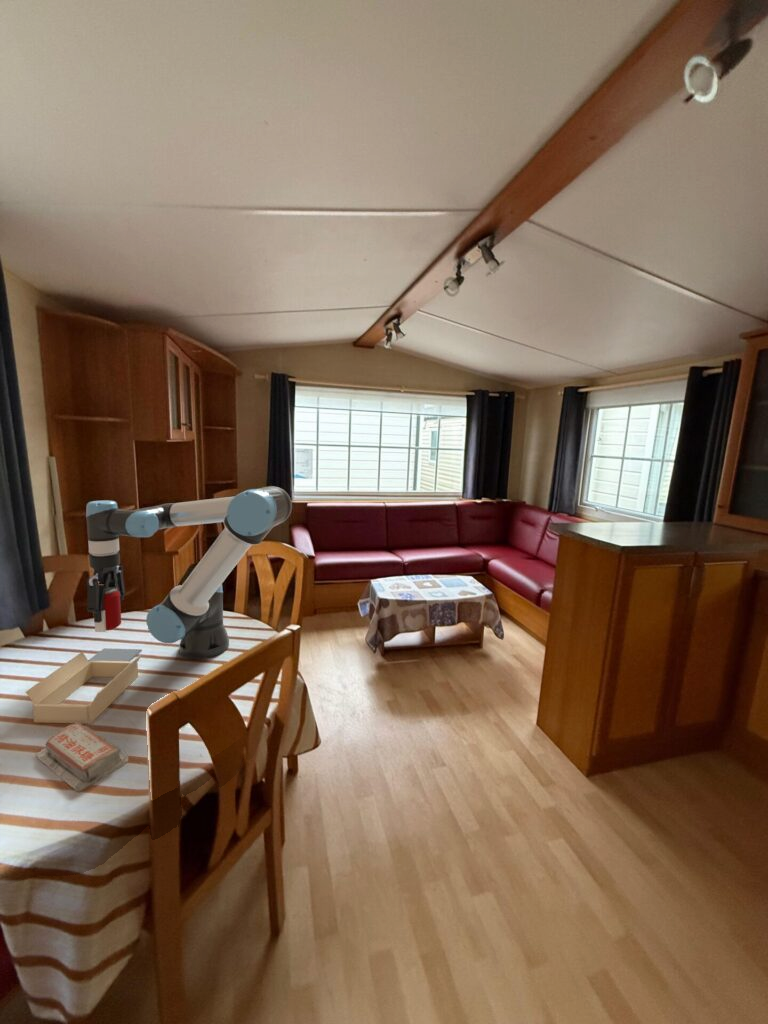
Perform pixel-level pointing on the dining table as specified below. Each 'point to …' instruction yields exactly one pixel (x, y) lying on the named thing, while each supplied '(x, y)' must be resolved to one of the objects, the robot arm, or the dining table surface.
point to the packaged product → (81, 756)
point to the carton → (70, 679)
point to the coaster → (115, 655)
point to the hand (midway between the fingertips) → (108, 625)
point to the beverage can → (112, 608)
